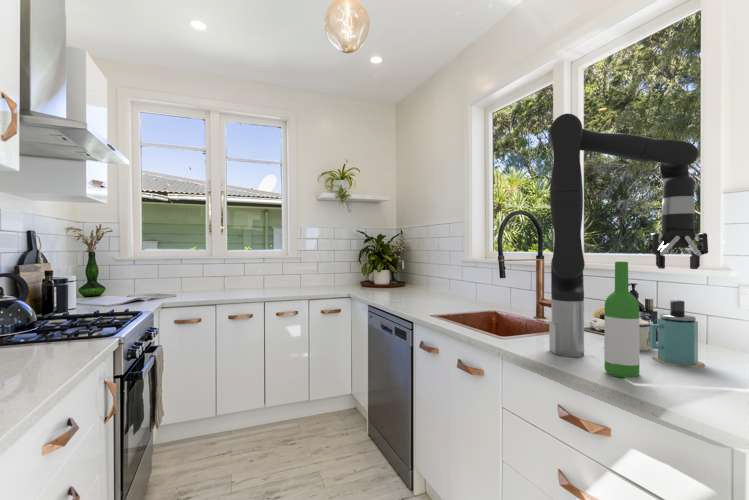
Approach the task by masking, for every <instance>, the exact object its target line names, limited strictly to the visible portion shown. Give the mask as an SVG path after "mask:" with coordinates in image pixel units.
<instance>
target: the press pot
mask: <svg viewBox="0 0 749 500" xmlns="http://www.w3.org/2000/svg"><path fill="white" fill-rule="evenodd" d="M649 324H650V326H649V349H652V350H657V355H658V359H660V360H662V361H664V362H666V363H671V364H676V365H685V366H695V365H696V364H698V361H699V332H698V331H699V321H697V320H696V321H680V322H675V320H668V319H663V318H660V317H658V318H657V323H649Z"/></svg>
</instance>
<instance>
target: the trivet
mask: <svg viewBox="0 0 749 500" xmlns="http://www.w3.org/2000/svg"><path fill="white" fill-rule="evenodd" d="M651 359H652V361H653V360H654V361H656V362H658V363H660V364H664V365H668V366H673V367H680V368H689V369H690V368H691V369H700V368H704V367H706V364H705V363H703V362H701V361H699V360H698V364H696V365H695V366H685V365H676V364H671V363H666V362H664V361H662V360H660V359H658V354H656V355H652V356H651Z"/></svg>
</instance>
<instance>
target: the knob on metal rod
mask: <svg viewBox="0 0 749 500" xmlns="http://www.w3.org/2000/svg"><path fill="white" fill-rule="evenodd" d="M669 301H670V302H669V303H670V305H669V307H670V309H669V310H670V312H669V313H660V314H659V318H663V319H668V320H675V322H680V321H697V320H696V318H697V317H695V316H693V315H688V314H685V312H686V311H685V307H686V306H685V300H677V299H676V300H675V299H671V300H669Z"/></svg>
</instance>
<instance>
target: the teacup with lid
mask: <svg viewBox="0 0 749 500" xmlns="http://www.w3.org/2000/svg"><path fill="white" fill-rule="evenodd" d="M650 324H651V323H650V322H649V321H647V320H644V319H642V318H641V317H639V346H640V351H649V350H650Z"/></svg>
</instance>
